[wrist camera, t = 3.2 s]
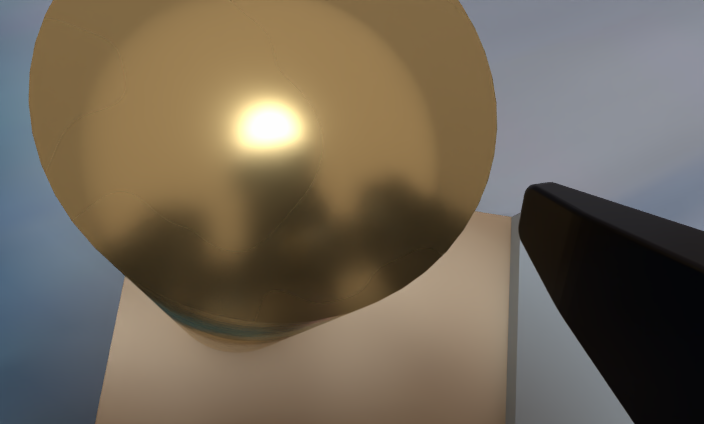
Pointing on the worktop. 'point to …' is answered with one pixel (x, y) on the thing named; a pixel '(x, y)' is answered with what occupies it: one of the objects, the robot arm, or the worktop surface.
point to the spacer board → (334, 355)
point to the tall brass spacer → (264, 150)
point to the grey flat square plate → (549, 357)
